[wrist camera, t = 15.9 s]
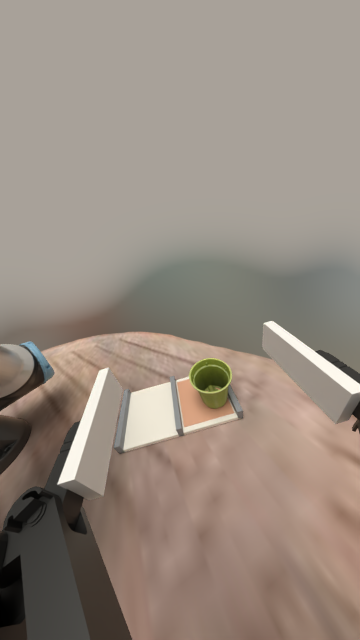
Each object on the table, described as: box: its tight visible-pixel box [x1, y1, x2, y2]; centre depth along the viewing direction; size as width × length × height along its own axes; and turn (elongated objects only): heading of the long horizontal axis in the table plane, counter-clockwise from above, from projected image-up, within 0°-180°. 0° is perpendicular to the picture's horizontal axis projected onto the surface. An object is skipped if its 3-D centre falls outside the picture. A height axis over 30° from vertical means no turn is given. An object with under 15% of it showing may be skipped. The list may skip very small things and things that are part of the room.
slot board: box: [114, 376, 243, 453], centre depth 40 cm, size 28×14×3 cm, turn 99°
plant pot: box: [189, 358, 232, 409], centre depth 37 cm, size 9×9×9 cm
